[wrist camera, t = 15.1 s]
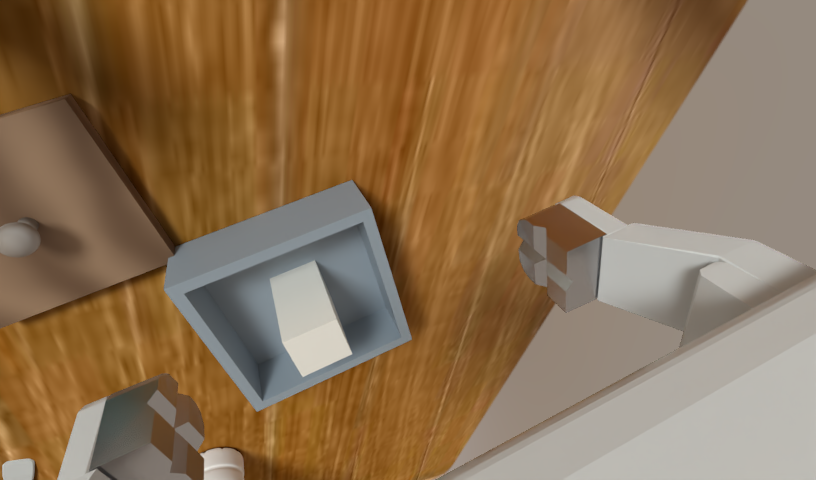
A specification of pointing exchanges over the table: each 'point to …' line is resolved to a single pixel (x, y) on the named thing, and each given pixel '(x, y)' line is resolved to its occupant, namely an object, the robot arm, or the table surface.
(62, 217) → the walnut base
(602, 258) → the robot arm
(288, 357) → the slate bin
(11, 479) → the fork
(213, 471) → the water bottle
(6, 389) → the table surface
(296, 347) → the ivory rectangular pillar
